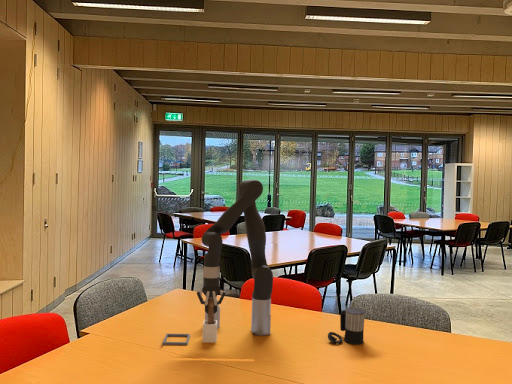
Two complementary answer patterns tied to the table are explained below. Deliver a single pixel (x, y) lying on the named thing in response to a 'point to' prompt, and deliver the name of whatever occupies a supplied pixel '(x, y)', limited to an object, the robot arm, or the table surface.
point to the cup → (209, 332)
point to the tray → (176, 342)
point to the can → (215, 316)
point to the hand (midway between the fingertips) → (210, 312)
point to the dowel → (210, 311)
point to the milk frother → (350, 327)
